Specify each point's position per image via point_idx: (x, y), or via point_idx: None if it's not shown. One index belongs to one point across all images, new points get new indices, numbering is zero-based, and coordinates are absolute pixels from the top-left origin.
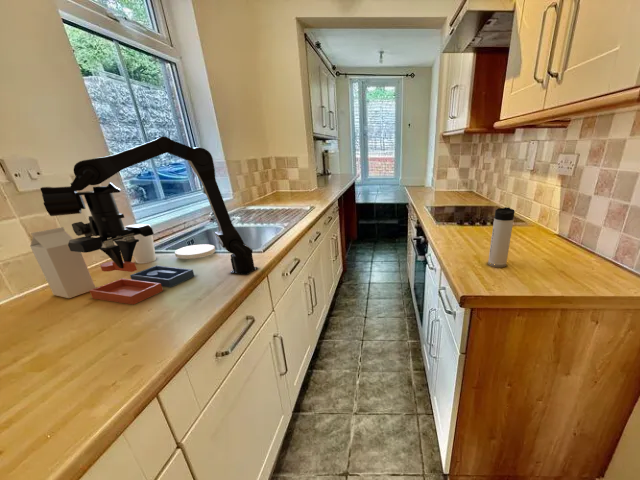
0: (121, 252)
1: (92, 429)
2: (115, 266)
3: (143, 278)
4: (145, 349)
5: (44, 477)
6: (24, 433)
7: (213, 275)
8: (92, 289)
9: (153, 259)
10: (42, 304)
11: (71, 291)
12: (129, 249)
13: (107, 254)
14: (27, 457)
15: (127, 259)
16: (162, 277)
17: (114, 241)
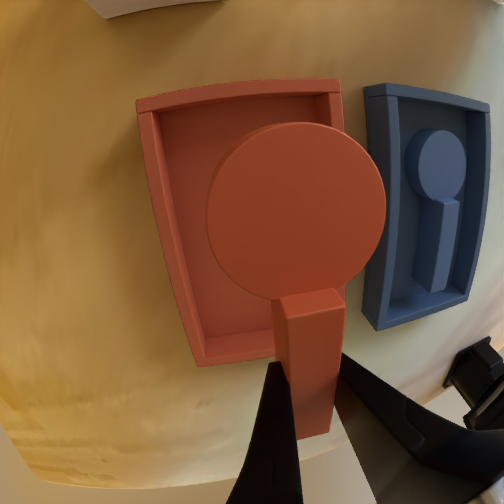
0: (382, 427)
1: (69, 482)
2: (276, 316)
3: (384, 181)
4: (127, 469)
5: (48, 480)
6: (27, 456)
7: (452, 327)
8: (151, 100)
9: (500, 2)
10: (44, 4)
11: (114, 4)
12: (374, 494)
13: (238, 483)
14: (35, 468)
15: (342, 413)
16: (423, 218)
17: (484, 483)
